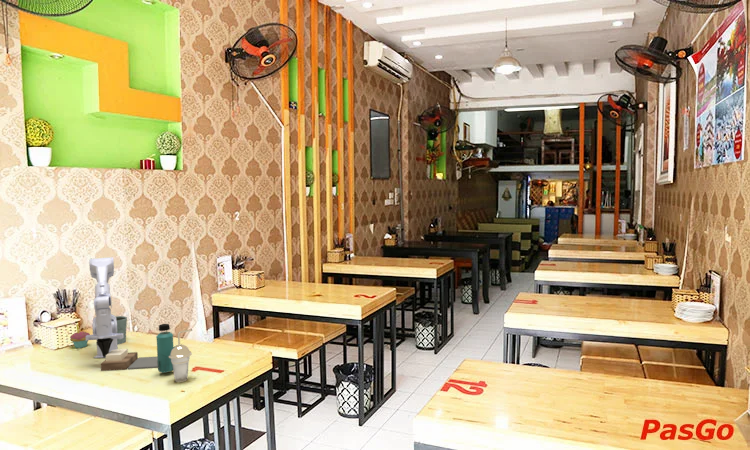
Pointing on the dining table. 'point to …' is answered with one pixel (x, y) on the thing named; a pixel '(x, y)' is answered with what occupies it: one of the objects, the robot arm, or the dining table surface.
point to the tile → (117, 355)
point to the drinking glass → (121, 328)
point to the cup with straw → (180, 360)
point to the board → (120, 363)
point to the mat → (144, 363)
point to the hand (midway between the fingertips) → (105, 356)
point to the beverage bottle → (164, 348)
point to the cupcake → (79, 338)
